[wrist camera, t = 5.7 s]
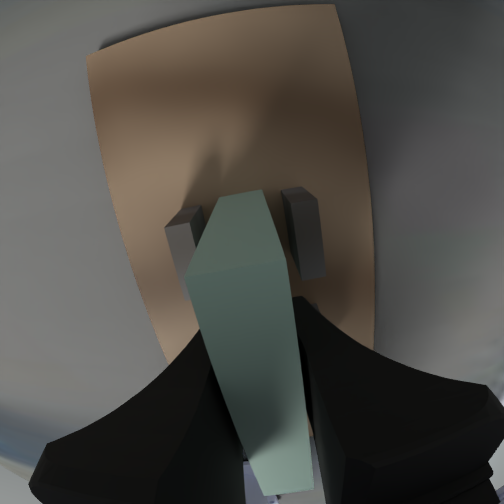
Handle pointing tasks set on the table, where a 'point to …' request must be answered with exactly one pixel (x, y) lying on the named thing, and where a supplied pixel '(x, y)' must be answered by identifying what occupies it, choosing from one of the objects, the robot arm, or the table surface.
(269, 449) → the door panel
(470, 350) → the table surface
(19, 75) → the table surface
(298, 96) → the rail
